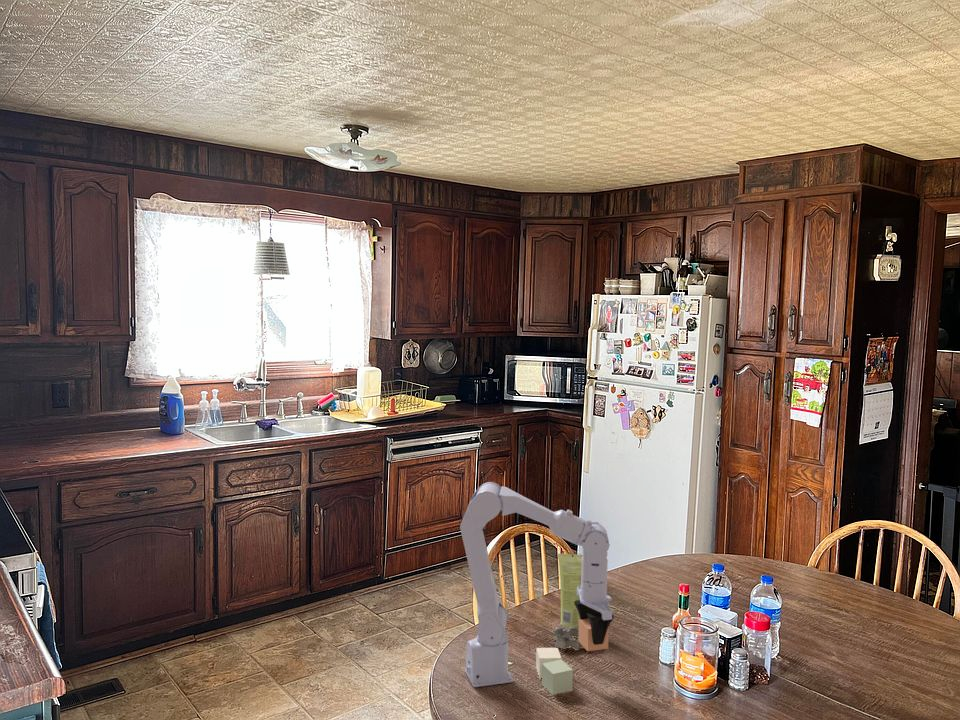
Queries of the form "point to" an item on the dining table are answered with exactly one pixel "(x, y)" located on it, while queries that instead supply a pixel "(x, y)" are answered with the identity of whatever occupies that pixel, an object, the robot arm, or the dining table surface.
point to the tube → (569, 587)
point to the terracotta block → (590, 636)
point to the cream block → (546, 657)
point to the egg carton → (567, 637)
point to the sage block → (557, 677)
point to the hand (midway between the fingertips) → (592, 638)
